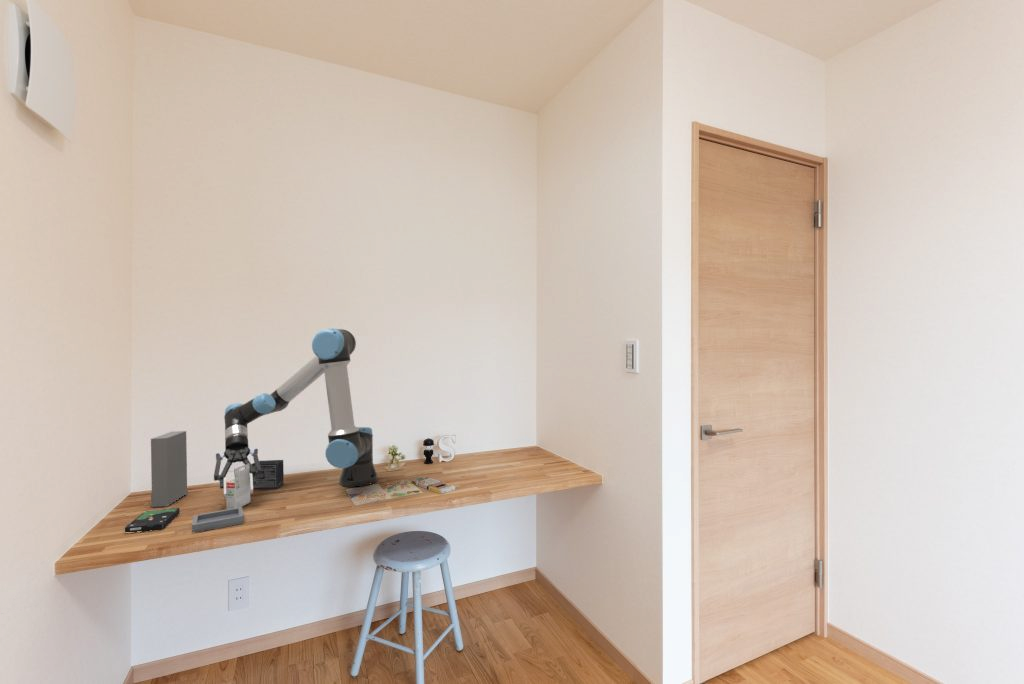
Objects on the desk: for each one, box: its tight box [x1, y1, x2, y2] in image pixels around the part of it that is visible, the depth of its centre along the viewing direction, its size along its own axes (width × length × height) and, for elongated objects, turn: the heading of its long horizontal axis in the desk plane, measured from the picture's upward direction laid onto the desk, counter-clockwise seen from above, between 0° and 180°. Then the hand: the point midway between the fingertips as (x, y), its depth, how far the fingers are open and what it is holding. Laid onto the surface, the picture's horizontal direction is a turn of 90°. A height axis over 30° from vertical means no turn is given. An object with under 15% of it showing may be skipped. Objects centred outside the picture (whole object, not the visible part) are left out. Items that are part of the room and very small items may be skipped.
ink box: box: [225, 463, 251, 510], centre depth 167 cm, size 4×8×15 cm, turn 172°
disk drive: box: [124, 507, 180, 533], centre depth 154 cm, size 10×3×15 cm
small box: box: [251, 459, 285, 490], centre depth 191 cm, size 11×6×10 cm, turn 94°
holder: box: [191, 506, 244, 534], centre depth 153 cm, size 14×10×2 cm
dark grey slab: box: [149, 430, 189, 508], centre depth 175 cm, size 14×6×25 cm, turn 9°
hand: (238, 493), depth 165 cm, fingers closed on ink box, 7 cm apart
